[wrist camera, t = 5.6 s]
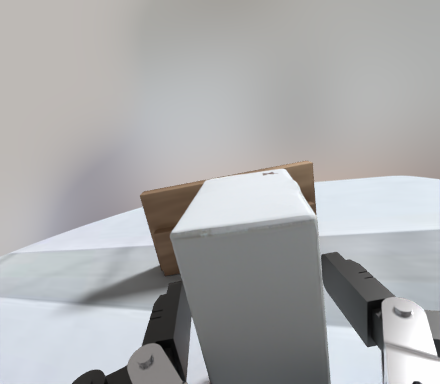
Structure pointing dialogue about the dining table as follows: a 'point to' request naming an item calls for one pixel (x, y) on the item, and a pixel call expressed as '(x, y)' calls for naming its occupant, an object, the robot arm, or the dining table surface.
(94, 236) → the dining table surface
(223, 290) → the skincare box
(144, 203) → the wooden stand
